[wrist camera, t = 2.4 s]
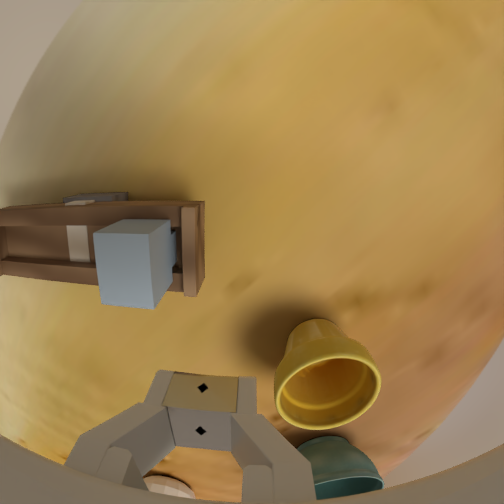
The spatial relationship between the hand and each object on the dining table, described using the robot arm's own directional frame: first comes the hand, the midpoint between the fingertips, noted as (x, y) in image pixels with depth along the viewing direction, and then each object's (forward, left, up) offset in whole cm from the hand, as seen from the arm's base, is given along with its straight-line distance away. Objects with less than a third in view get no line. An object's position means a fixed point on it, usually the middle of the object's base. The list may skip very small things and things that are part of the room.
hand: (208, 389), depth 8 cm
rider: (0, -7, -16) cm, 18 cm away
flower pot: (+36, +14, -23) cm, 45 cm away
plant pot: (+13, +9, -23) cm, 28 cm away
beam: (0, -15, -23) cm, 27 cm away
